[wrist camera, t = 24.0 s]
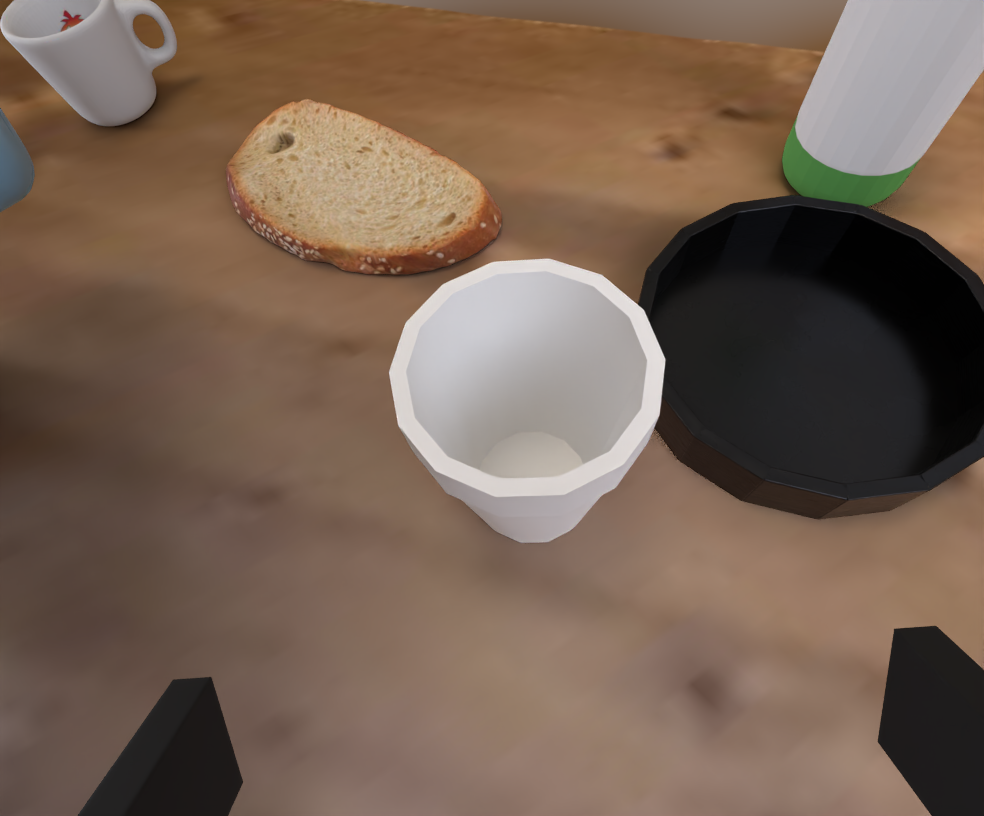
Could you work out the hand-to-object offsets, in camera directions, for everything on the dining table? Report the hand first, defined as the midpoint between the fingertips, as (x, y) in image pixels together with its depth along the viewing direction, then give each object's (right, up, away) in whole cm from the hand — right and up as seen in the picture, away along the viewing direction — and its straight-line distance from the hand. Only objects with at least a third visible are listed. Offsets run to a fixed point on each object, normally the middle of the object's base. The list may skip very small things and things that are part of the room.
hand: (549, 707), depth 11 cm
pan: (+23, +7, +21) cm, 32 cm away
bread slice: (-11, +21, +31) cm, 39 cm away
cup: (-31, +32, +38) cm, 59 cm away
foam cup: (+1, +2, +20) cm, 20 cm away
